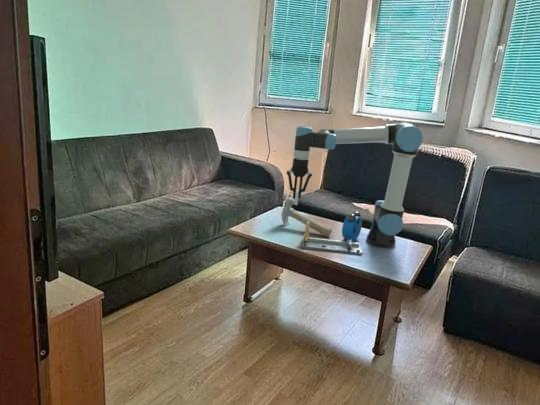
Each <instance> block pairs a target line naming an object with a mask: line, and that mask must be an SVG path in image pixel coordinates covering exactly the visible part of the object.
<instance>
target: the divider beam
mask: <svg viewBox="0 0 540 405" xmlns="http://www.w3.org/2000/svg"><path fill="white" fill-rule="evenodd" d="M309 241H311V242H320V243H329V244H338V245H347V246H349V248H350V249H351V246H356V247H359V245H360V242H354V241H353V240H352V239H346V241H345V240H336V239H328V238H319V237H310V236H309Z"/></svg>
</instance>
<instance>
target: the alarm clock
mask: <svg viewBox="0 0 540 405" xmlns="http://www.w3.org/2000/svg"><path fill="white" fill-rule="evenodd" d="M361 216H362V214H361V212H359V211H353V212H352V213H349V214H347V216H346V217H345V219H344V222H343V225H342V229H341V235H342V238H344V239H343V241H345V240H347V239H352V242H354V241H356V240H357V239H358V238H359V237H360V233H361V232H362V226H363V219H362V217H361Z"/></svg>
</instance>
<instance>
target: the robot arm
mask: <svg viewBox="0 0 540 405" xmlns="http://www.w3.org/2000/svg"><path fill="white" fill-rule="evenodd" d="M294 138H295V139H294V150H293V159H292V160H293V161H292V166H291V168H290V169H288V170H286V174H287V177H288V178H287V179H288V184H289V190H290V191H292V195H293V196H292V198H293V199H294V200H295V203H294V204H293V205H295V206H298V203H299V202H298V201H299V199H301V198H302V197H301V196H302V193H304V192H305V191H306V189H307V187H308V184H309V181H310V178H311V177H312V176H313V173H312V172H310V171H309V168H308V167H309V158H310V152H311V151H310V149H311V148H313V149H314V148H316V149H323V150H324V149H325V150H335V148H336V145H342V144H343V145H344V144H345V145H348V144H367V143H368V144H369V143H385V144H386V145H390V144H391V145H392V148H391V152H392V153H393V159H392V164H391V169H390V173H389V174H390V175H389V178H388V184H387V187H386V193H385V196H384V200H383V199H382V200H381V199H380V200H376V201H375V204H374V210H373V217H372V222H371V223H372V224H371V227H370V230H369V232H368V233H367V235H366V239H365V241H366V242H367V243H368V244H370V245H372V246H374V247H378V248H384V249H385V248H393V247H395V246H396V242H397V241H396V236H395V235H397V234H399V233H400V232H401V231H402V230H403V226H404V221H403V217H404V214H405V209H404V207H403V202H404V197H405V193H406V188H407V185H408V181H409V180H408V179H409V177H410V171H411V168H412V163H413V158H415V157H416V156H418V151H419V148H420V147H421V146H422V143H423V141H424V140H423V139H424V138H423V132H422V131H421V129H420V128H419V127H418V126H417V125H414V124H412V123H410V122H399V123H398V122H397V123H391V124H385V126H374V127H355V128H354V127H351V128H337V129H335V128H334V129H326V128H324V129H320V130H318V131H317V132H316V131H313V128H312V127H310V126H306V125H305V126H304V125H301V126H300V125H299V126H297V127H296V131H295V137H294ZM292 174H293V175H294V185H293V180H292ZM306 175H307V177H306V180H305V182H304V185H303V178H304V177H305V176H306ZM298 178H300V179H299V184H298ZM297 185H299V187H298V190H297ZM302 186H303V187H302Z"/></svg>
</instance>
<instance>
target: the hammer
mask: <svg viewBox="0 0 540 405" xmlns="http://www.w3.org/2000/svg"><path fill="white" fill-rule="evenodd" d="M294 204H295V198H293V197H287V198H286V199H285V205H284V206H283V209H282V211H281V220H282V223H283V225H284V226H285V227H287V226H289V225H290V222H289V218H290V217H291V218H293V219H295V220H296V221H299V222H300V223H301V224H304V225H305V226H306V223H307V222H310V225H309V229H311V230H314V231H316V232H317V233H319V234H322V236H324V237H327V238H328V237H330V235H331V233H332V231H333V228H331V227H328V226H327V225H324V224H322V223H320V222H318V221H317V220H315V219H312V218H310V217H308V216H306V215H304V214H302V213H300V212H298V211H296V210H295V208H293V207H292V206H293V205H294Z"/></svg>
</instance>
